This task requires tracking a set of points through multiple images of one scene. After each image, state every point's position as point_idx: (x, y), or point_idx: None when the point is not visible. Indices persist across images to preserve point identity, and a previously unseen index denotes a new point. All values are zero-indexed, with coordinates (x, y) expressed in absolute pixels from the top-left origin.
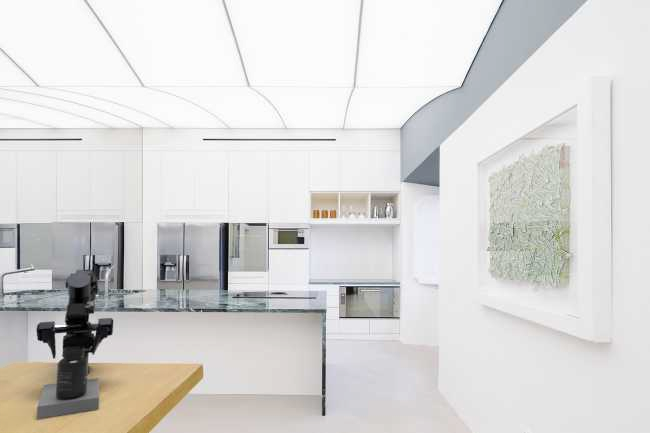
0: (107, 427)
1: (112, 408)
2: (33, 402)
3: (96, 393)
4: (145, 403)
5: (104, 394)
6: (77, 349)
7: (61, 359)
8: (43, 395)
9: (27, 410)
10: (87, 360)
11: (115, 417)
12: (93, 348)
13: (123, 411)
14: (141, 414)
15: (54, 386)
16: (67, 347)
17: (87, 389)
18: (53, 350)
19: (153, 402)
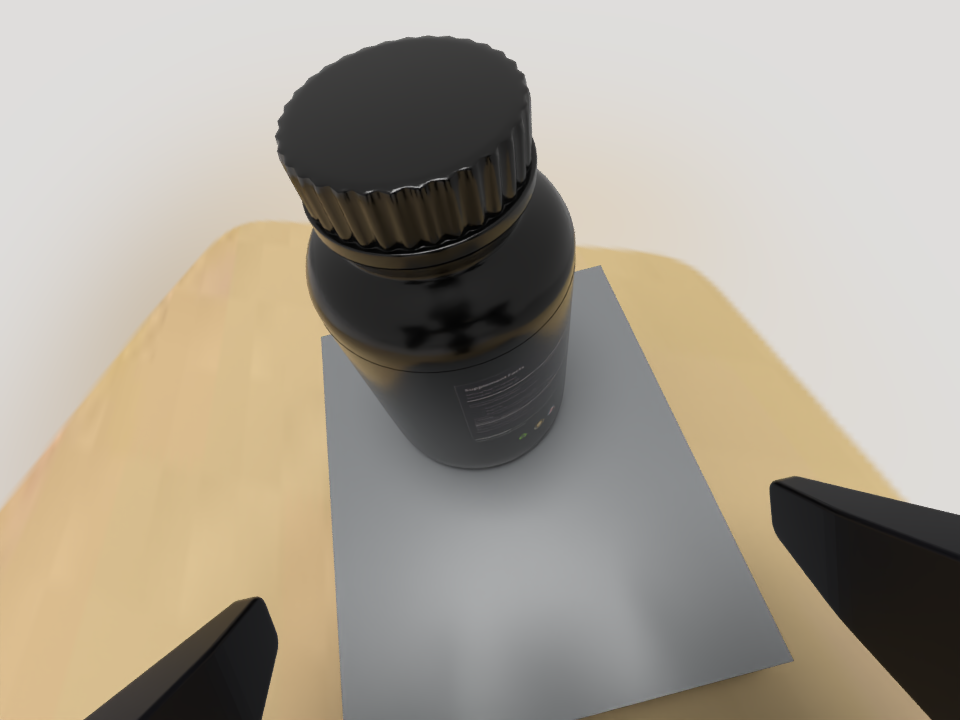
0: (305, 223)
1: (284, 372)
2: (751, 535)
3: (337, 395)
4: (135, 405)
5: (324, 593)
6: (344, 61)
7: (544, 201)
8: (653, 408)
9: (707, 412)
10: (306, 256)
11: (276, 287)
12: (205, 643)
13: (241, 335)
14: (180, 300)
15: (670, 593)
16: (494, 128)
17: (398, 472)
18: (883, 512)
19: (99, 411)
